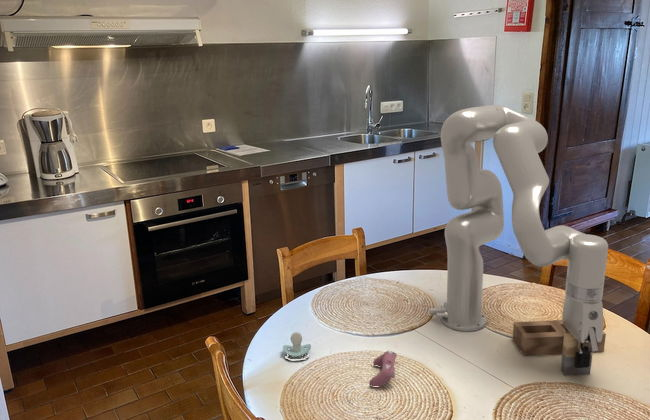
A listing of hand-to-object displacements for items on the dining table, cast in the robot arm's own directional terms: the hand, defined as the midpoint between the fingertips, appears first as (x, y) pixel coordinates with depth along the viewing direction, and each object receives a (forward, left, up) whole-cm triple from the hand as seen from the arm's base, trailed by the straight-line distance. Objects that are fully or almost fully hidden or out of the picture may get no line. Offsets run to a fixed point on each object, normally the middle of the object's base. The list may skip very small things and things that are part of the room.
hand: (576, 360), depth 122 cm
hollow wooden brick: (+1, +12, -3) cm, 12 cm away
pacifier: (-66, +13, -4) cm, 67 cm away
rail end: (0, 0, -3) cm, 3 cm away
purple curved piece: (-45, +2, -4) cm, 45 cm away
